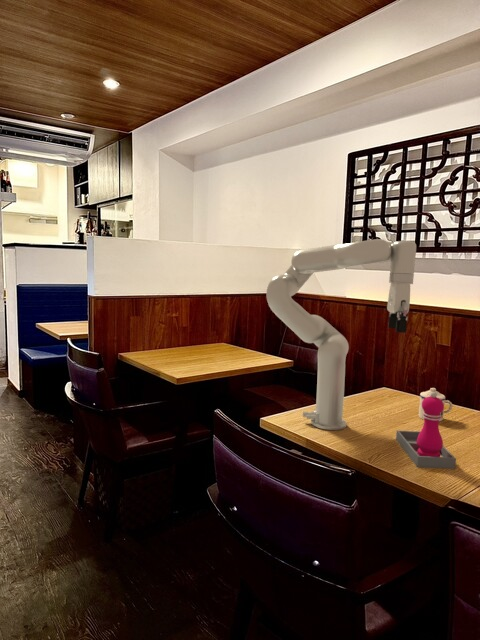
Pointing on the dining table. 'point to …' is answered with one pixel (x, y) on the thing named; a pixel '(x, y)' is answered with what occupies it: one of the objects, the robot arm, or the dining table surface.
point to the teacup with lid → (440, 396)
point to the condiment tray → (411, 448)
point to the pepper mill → (431, 427)
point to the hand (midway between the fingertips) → (396, 330)
